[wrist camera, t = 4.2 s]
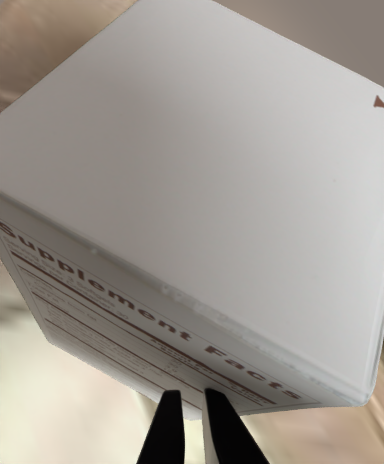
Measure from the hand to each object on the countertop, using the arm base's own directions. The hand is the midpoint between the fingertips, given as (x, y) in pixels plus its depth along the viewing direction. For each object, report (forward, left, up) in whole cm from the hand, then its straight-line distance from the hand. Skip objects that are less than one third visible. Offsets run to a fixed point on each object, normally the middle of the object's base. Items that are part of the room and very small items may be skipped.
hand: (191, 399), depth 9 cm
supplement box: (0, +3, -9) cm, 9 cm away
